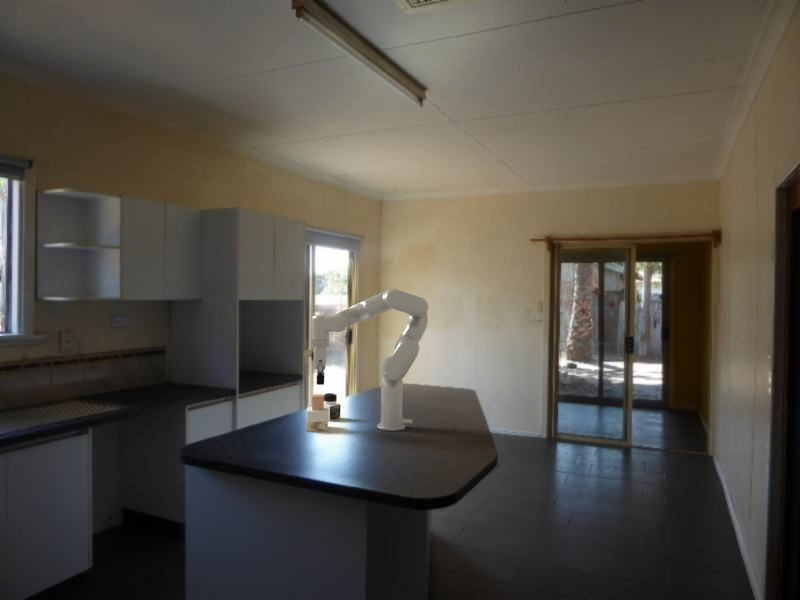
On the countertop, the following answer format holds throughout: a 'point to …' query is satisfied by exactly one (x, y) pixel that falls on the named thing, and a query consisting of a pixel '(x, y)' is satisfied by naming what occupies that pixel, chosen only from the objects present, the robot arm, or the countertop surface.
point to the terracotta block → (317, 401)
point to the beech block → (317, 427)
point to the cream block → (317, 415)
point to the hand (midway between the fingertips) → (320, 382)
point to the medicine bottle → (332, 406)
